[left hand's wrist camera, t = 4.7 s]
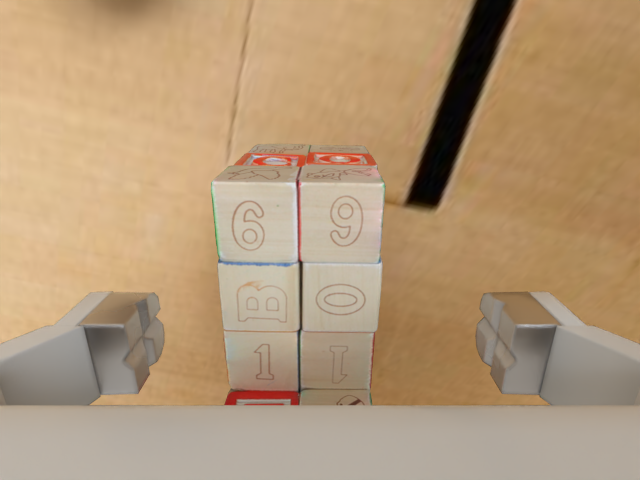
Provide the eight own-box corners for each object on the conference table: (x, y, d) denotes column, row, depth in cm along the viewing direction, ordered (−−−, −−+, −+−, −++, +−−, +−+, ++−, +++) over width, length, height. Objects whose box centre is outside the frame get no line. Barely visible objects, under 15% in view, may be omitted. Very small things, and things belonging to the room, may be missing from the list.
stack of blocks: (253, 141, 22) (179, 201, 11) (365, 143, 22) (410, 205, 11) (265, 434, 30) (229, 649, 19) (348, 435, 30) (365, 652, 19)
